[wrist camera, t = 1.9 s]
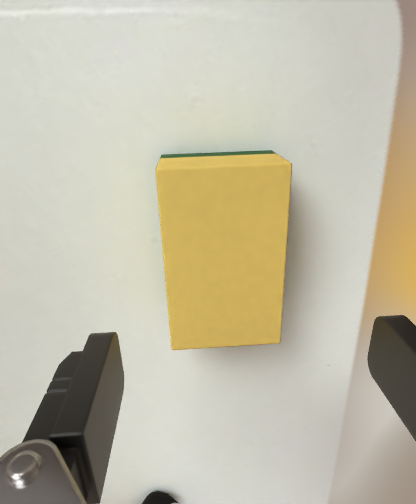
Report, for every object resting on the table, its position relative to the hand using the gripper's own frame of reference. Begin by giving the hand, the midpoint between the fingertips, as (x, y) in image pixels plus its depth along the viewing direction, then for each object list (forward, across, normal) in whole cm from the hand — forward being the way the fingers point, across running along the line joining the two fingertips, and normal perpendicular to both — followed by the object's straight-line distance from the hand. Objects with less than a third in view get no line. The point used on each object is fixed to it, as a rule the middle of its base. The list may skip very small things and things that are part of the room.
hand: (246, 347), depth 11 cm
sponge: (+9, 0, 0) cm, 9 cm away
